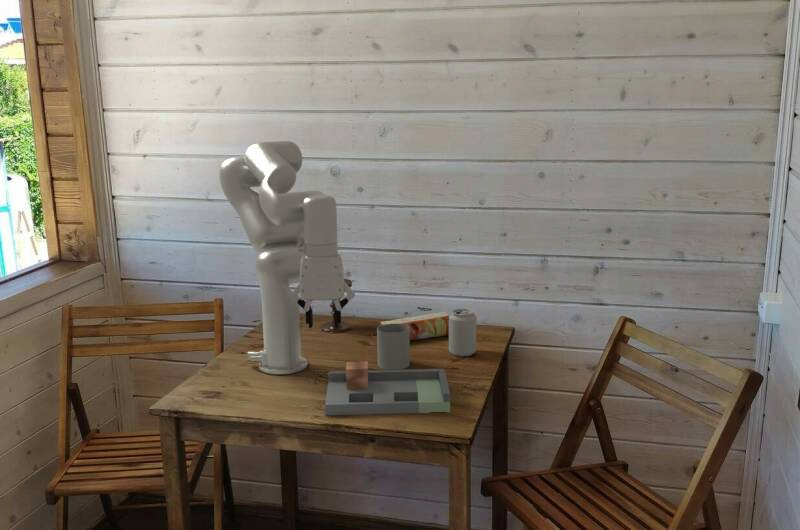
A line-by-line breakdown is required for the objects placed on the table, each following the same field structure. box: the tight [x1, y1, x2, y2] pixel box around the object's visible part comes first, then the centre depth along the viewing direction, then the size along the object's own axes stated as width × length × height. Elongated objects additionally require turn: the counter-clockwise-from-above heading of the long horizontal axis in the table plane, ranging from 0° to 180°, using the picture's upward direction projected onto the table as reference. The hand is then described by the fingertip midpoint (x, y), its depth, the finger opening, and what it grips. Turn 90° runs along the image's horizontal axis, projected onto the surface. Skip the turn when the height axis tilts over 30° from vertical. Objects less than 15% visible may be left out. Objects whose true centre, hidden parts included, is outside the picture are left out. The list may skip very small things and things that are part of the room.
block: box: [345, 361, 369, 389], centre depth 192 cm, size 5×5×5 cm
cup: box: [376, 324, 411, 370], centre depth 213 cm, size 8×8×10 cm
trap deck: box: [324, 368, 451, 416], centre depth 189 cm, size 28×16×4 cm, turn 92°
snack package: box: [378, 311, 451, 342], centre depth 235 cm, size 21×7×7 cm, turn 112°
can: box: [448, 308, 478, 358], centre depth 221 cm, size 8×8×12 cm
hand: (323, 325), depth 189 cm, fingers open, 5 cm apart
